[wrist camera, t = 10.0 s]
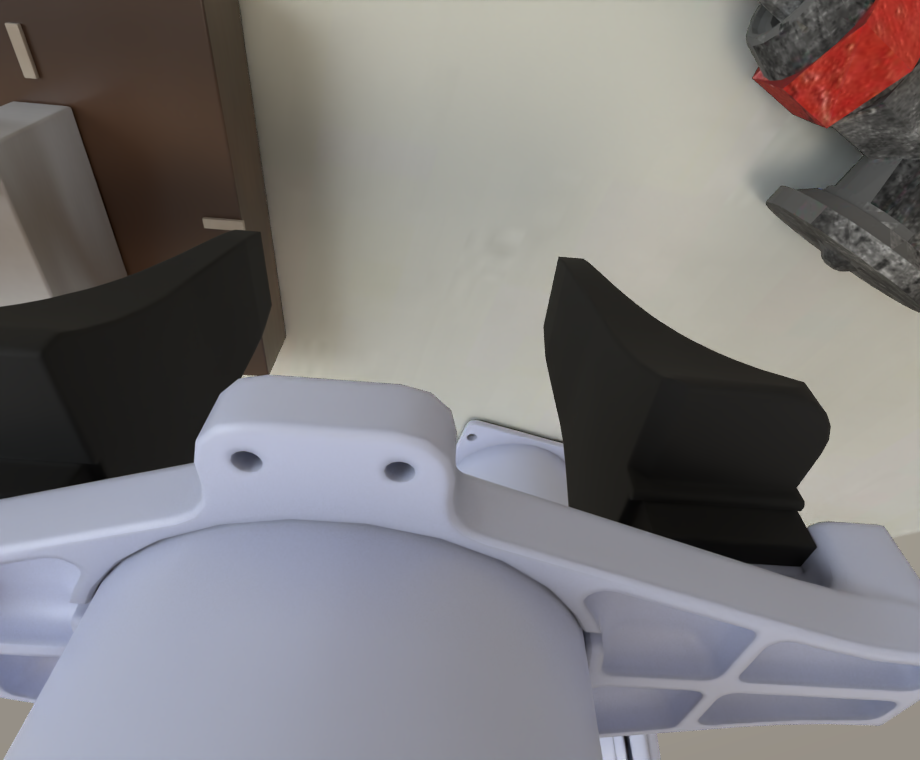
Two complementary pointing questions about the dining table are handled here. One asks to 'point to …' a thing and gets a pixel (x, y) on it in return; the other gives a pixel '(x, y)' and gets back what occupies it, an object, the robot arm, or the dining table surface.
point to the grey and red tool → (852, 128)
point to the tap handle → (50, 208)
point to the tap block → (153, 121)
